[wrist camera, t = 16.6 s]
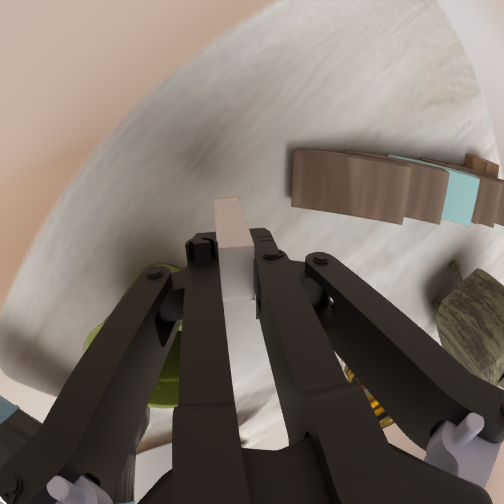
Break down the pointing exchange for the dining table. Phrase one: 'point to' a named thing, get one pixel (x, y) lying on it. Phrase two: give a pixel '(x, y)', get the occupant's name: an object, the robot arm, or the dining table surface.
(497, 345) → the tabletop clock
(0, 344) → the dining table surface
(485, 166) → the block
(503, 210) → the domino
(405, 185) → the domino
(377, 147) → the dining table surface
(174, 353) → the plant pot
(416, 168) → the domino
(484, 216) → the domino
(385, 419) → the condiment
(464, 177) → the teal domino
